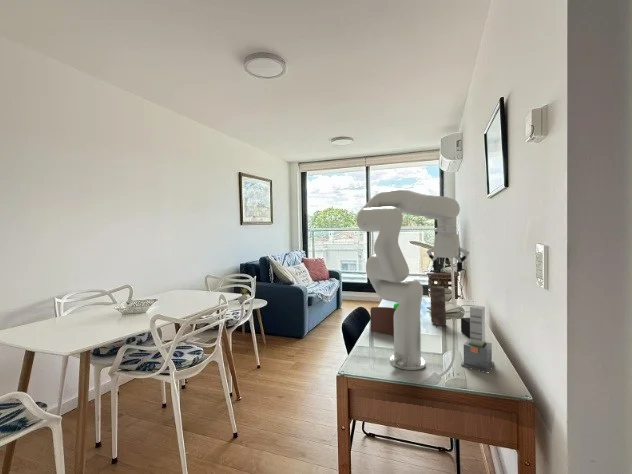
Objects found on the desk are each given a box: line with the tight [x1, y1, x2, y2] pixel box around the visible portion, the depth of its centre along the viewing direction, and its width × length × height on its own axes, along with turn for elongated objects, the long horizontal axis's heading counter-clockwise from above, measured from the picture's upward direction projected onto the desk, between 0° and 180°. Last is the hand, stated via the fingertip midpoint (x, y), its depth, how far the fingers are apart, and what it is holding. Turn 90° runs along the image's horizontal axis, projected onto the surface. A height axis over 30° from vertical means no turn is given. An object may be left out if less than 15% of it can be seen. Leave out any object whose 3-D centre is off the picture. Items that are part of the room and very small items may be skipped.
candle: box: [429, 286, 447, 327], centre depth 166 cm, size 8×7×20 cm
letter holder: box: [369, 306, 396, 337], centre depth 152 cm, size 10×20×14 cm, turn 58°
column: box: [469, 304, 487, 348], centre depth 116 cm, size 4×4×14 cm
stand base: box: [460, 338, 495, 373], centre depth 116 cm, size 9×9×8 cm
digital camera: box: [460, 317, 470, 339], centre depth 148 cm, size 10×5×7 cm, turn 1°
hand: (447, 270), depth 136 cm, fingers open, 9 cm apart
